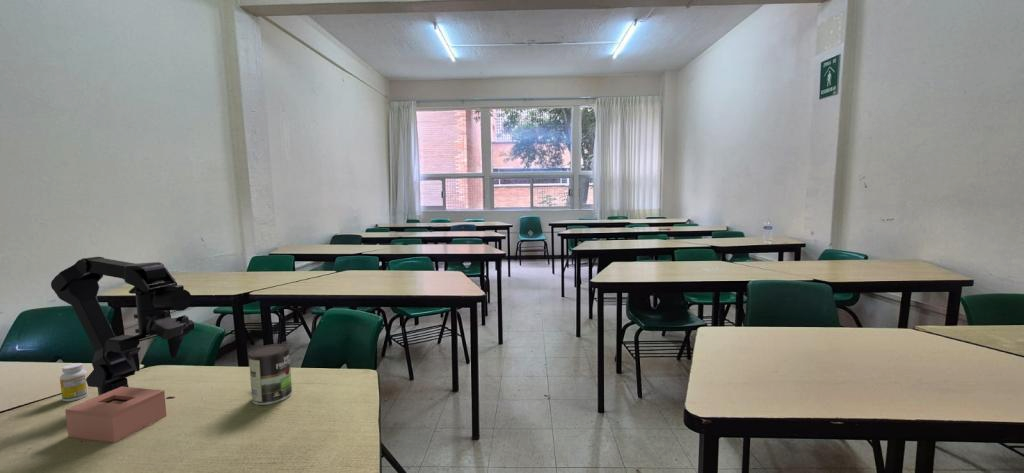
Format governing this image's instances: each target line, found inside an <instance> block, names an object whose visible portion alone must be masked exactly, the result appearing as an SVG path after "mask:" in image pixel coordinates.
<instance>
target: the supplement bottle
mask: <svg viewBox="0 0 1024 473" xmlns="http://www.w3.org/2000/svg"><path fill="white" fill-rule="evenodd" d="M61 371H62V374H61V375H60V377H59V382H60V383H59V384H60V391H61V400H62V401H63V402H72V401H73V402H74V401H77V400H80V399H84V398H85V397H87V396H89V395H90V394H89V393H90V391H89V389H90V388H89V386H88V384H87V382H86V378H87V377H88V372H87V371H86V370H85V369H84V365H83V363H81V362H78V363H77V362H76V363H72V364H68V365H64V366H62V370H61Z"/></svg>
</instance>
